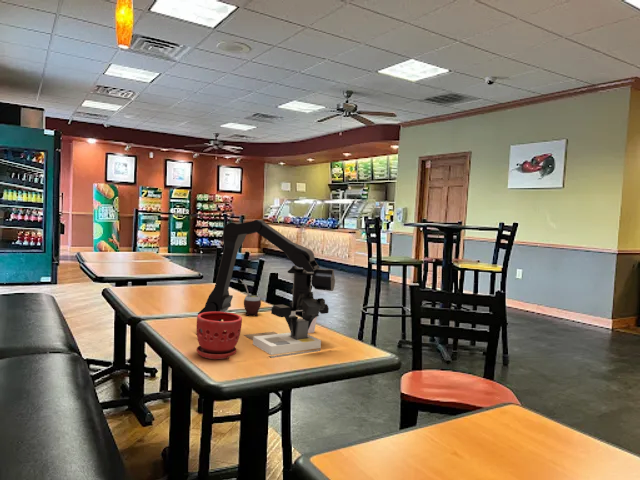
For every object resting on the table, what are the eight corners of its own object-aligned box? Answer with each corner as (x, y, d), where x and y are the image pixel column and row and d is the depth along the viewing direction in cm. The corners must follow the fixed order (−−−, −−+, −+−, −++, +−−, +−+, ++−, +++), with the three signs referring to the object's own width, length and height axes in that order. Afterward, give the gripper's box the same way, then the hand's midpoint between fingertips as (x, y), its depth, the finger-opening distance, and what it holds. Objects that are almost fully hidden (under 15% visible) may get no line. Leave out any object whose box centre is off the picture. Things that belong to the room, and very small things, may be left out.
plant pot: (201, 364, 132) (203, 321, 132) (190, 350, 144) (192, 311, 143) (246, 359, 138) (248, 319, 138) (232, 347, 150) (234, 309, 149)
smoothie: (315, 337, 168) (317, 298, 167) (298, 335, 169) (300, 296, 168) (319, 333, 174) (321, 295, 173) (302, 331, 175) (304, 293, 174)
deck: (254, 344, 154) (254, 341, 154) (242, 337, 161) (242, 334, 161) (286, 340, 161) (286, 337, 161) (273, 334, 168) (273, 331, 168)
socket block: (270, 358, 141) (271, 345, 141) (252, 347, 151) (253, 335, 151) (320, 351, 151) (321, 339, 151) (300, 341, 161) (301, 330, 161)
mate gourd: (263, 315, 198) (265, 279, 197) (251, 318, 191) (253, 281, 191) (249, 312, 202) (251, 277, 201) (237, 315, 195) (239, 279, 195)
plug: (296, 343, 151) (298, 321, 150) (290, 340, 154) (291, 318, 154) (307, 342, 153) (308, 320, 153) (300, 339, 156) (302, 317, 156)
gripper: (290, 293, 141) (287, 345, 142) (340, 290, 151) (336, 338, 152) (271, 287, 150) (269, 336, 151) (320, 285, 160) (317, 330, 161)
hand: (299, 335), depth 153 cm, fingers closed on plug, 4 cm apart
